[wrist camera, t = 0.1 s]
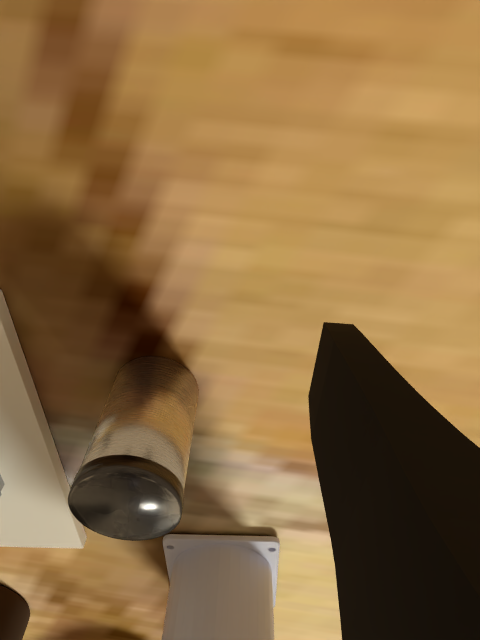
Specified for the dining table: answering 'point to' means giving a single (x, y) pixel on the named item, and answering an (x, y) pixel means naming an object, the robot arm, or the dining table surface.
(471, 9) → the dining table surface
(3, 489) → the mount plate
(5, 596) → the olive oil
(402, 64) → the dining table surface
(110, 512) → the lens
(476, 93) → the dining table surface
